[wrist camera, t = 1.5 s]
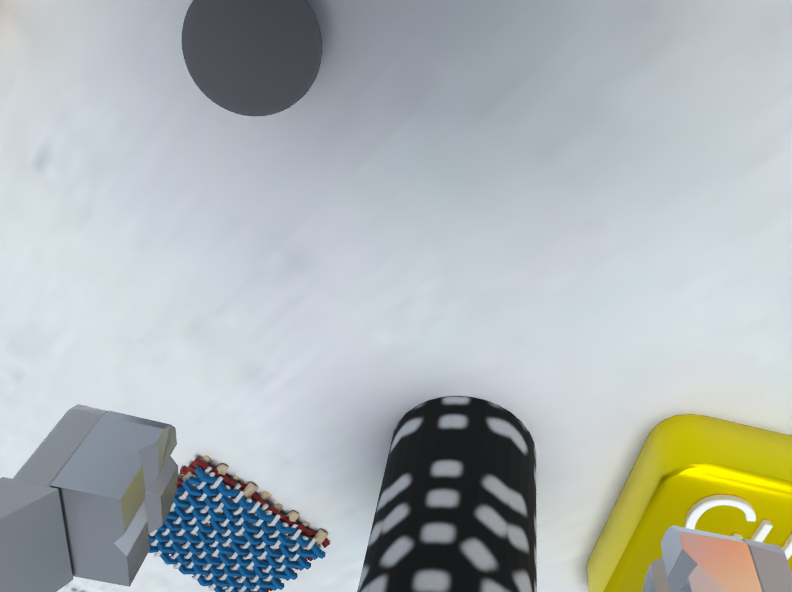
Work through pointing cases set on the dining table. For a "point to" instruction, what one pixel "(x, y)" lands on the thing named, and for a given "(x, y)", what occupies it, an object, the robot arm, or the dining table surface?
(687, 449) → the element tile
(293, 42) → the dark grey round ball
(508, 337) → the dining table surface
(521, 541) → the spotted tube
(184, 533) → the woven mat
